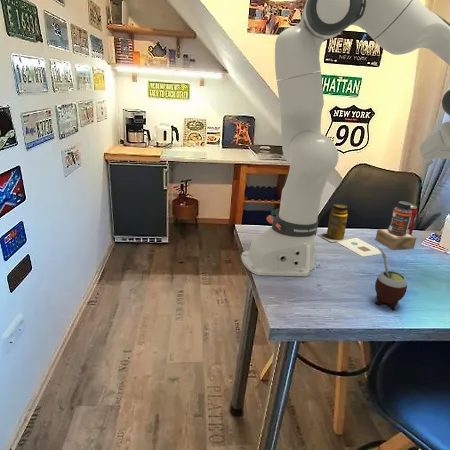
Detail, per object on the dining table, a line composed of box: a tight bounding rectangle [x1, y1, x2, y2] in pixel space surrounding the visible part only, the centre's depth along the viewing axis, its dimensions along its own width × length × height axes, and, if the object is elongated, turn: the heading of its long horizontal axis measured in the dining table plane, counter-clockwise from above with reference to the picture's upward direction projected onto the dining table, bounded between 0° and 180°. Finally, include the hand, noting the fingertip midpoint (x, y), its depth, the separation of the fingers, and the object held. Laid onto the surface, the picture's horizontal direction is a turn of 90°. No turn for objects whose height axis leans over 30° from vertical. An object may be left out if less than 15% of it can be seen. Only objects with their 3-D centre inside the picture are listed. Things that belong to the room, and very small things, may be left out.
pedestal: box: [374, 228, 417, 251], centre depth 125 cm, size 9×9×4 cm
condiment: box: [318, 203, 350, 243], centre depth 126 cm, size 7×8×12 cm
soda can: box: [407, 203, 418, 236], centre depth 133 cm, size 7×7×12 cm
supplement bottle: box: [387, 200, 412, 236], centre depth 123 cm, size 6×6×11 cm
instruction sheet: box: [335, 237, 386, 258], centre depth 121 cm, size 10×13×1 cm
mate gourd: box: [374, 243, 408, 312], centre depth 86 cm, size 8×8×15 cm
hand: (441, 164), depth 103 cm, fingers open, 8 cm apart
